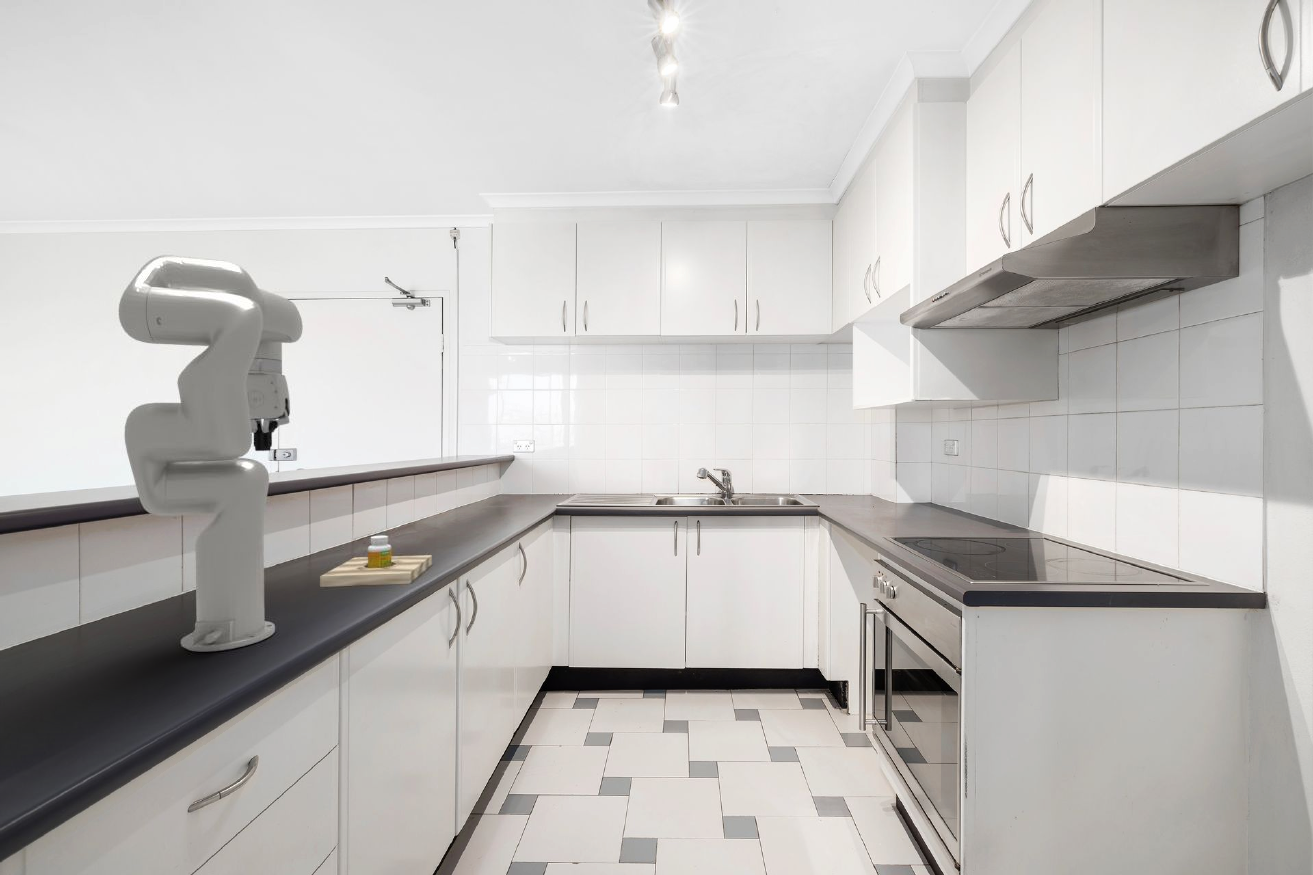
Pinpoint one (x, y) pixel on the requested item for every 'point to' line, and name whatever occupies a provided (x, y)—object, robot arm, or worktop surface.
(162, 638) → the worktop surface
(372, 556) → the supplement bottle
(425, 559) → the plate
